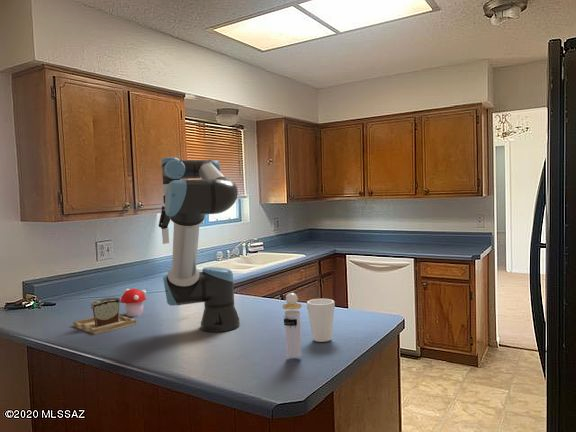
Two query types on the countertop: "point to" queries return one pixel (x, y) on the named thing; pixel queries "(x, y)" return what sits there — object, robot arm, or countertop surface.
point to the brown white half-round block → (105, 311)
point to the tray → (90, 326)
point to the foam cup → (321, 318)
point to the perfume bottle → (292, 326)
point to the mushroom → (133, 301)
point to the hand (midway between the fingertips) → (174, 244)
